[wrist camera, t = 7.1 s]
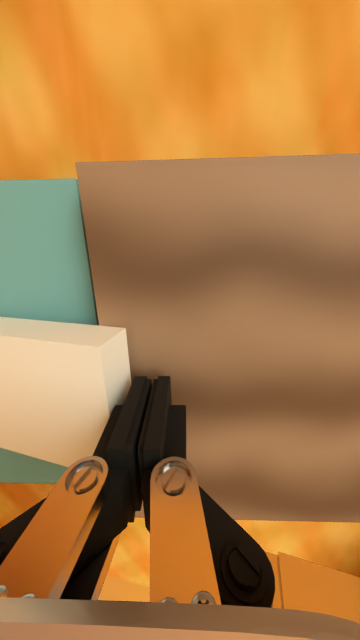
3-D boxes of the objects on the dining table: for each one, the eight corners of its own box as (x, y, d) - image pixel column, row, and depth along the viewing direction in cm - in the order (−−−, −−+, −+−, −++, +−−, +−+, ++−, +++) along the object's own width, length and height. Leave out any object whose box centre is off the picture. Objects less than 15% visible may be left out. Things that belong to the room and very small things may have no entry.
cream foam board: (-34, 313, 13) (-81, 325, 11) (125, 328, 10) (99, 347, 8) (0, 413, 15) (-34, 437, 13) (138, 446, 12) (119, 482, 11)
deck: (100, 180, 11) (75, 162, 8) (449, 170, 10) (529, 148, 8) (135, 479, 17) (126, 517, 15) (348, 483, 17) (375, 522, 14)
